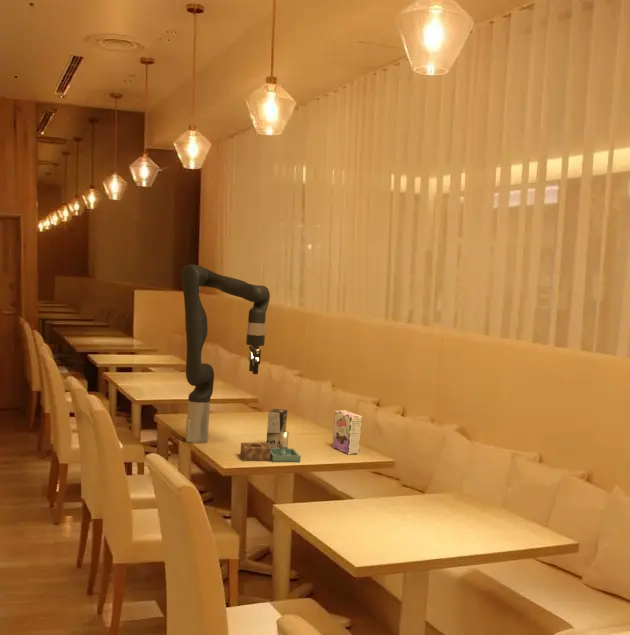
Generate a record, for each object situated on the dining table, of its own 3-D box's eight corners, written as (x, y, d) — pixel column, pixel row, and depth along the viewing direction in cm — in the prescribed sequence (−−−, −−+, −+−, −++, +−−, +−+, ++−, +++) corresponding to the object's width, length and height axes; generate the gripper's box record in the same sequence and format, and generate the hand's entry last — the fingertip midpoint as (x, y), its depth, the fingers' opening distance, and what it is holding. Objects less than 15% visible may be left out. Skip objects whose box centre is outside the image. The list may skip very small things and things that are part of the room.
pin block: (244, 461, 305) (245, 448, 305) (240, 455, 315) (241, 442, 315) (269, 461, 308) (270, 448, 308) (264, 455, 318) (265, 443, 317)
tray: (272, 462, 307) (273, 455, 306) (266, 454, 319) (267, 448, 319) (300, 462, 309) (300, 456, 309) (292, 454, 322) (293, 448, 322)
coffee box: (280, 451, 327) (282, 412, 326) (265, 449, 328) (267, 411, 327) (285, 446, 336) (287, 409, 335) (270, 445, 337) (273, 408, 336)
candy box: (331, 447, 340) (334, 410, 339) (343, 447, 343) (346, 409, 342) (347, 455, 328) (350, 416, 327) (359, 454, 331) (362, 415, 330)
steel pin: (279, 457, 312) (281, 432, 312) (278, 455, 315) (279, 431, 315) (287, 457, 313) (289, 433, 313) (286, 455, 316) (287, 431, 316)
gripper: (244, 331, 330) (241, 370, 330) (249, 334, 316) (247, 374, 317) (261, 332, 331) (259, 370, 332) (268, 335, 318) (265, 375, 318)
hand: (253, 372), depth 324 cm, fingers open, 8 cm apart
